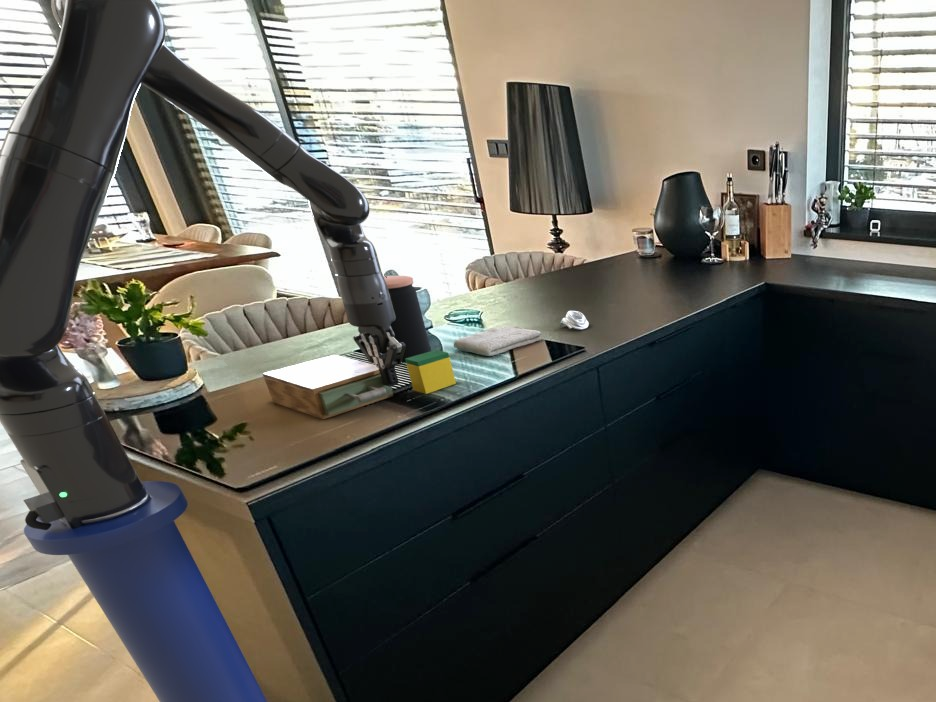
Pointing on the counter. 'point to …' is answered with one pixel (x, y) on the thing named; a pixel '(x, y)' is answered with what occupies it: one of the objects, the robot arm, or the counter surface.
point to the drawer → (353, 394)
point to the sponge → (430, 371)
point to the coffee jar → (407, 316)
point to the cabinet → (316, 382)
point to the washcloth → (497, 340)
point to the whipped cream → (574, 320)
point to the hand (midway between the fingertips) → (391, 384)
